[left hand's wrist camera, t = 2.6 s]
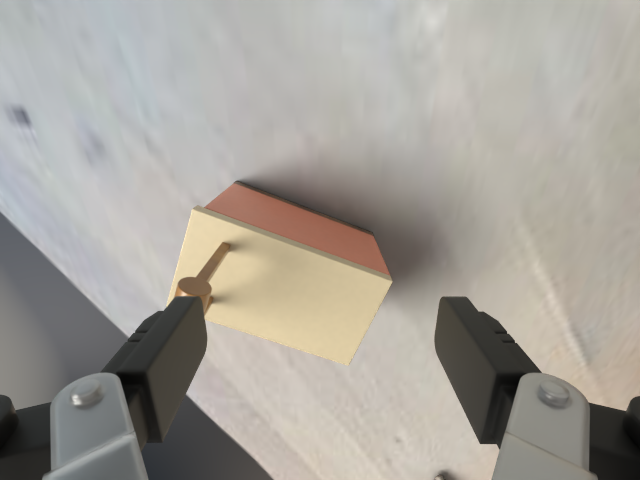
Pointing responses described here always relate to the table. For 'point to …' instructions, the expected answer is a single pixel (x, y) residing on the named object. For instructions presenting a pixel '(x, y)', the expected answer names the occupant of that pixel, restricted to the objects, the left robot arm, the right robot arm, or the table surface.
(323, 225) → the chest
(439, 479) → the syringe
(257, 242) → the lid
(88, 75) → the table surface
